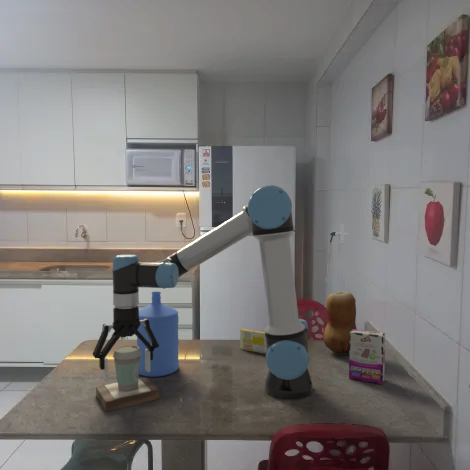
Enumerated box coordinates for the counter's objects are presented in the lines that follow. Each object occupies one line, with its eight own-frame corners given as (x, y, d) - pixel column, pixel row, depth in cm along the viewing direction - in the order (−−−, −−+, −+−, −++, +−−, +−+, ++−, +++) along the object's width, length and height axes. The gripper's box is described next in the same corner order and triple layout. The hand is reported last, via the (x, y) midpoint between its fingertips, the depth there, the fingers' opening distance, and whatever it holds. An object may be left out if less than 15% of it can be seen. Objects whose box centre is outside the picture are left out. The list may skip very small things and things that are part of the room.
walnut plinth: (159, 398, 131) (159, 389, 131) (106, 411, 123) (106, 401, 123) (145, 384, 142) (145, 375, 141) (96, 395, 133) (96, 386, 133)
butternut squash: (317, 349, 177) (318, 289, 175) (347, 346, 180) (348, 287, 179) (334, 361, 163) (335, 296, 162) (365, 358, 167) (367, 294, 165)
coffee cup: (135, 393, 127) (134, 353, 127) (108, 392, 129) (107, 352, 128) (146, 382, 135) (145, 345, 135) (121, 381, 137) (120, 344, 137)
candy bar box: (384, 379, 146) (385, 332, 145) (382, 385, 142) (384, 336, 141) (351, 373, 151) (352, 328, 150) (348, 379, 147) (349, 331, 146)
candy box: (277, 354, 171) (277, 334, 170) (275, 356, 169) (275, 335, 169) (242, 347, 179) (242, 328, 179) (239, 349, 177) (239, 329, 177)
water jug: (187, 367, 157) (187, 291, 155) (157, 381, 144) (156, 299, 142) (156, 358, 166) (155, 286, 164) (125, 371, 153) (124, 293, 151)
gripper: (159, 299, 140) (160, 363, 141) (81, 308, 127) (82, 378, 129) (168, 303, 134) (169, 371, 135) (86, 313, 121) (88, 387, 122)
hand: (127, 374), depth 132 cm, fingers open, 12 cm apart
